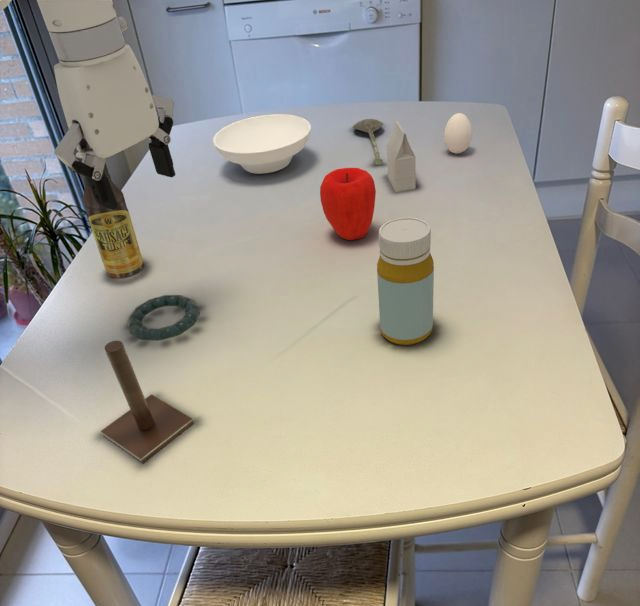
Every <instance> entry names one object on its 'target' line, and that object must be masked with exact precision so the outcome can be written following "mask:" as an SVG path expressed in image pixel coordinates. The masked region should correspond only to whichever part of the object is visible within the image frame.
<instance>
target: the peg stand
mask: <svg viewBox="0 0 640 606" xmlns="http://www.w3.org/2000/svg"><path fill="white" fill-rule="evenodd" d="M104 352H105V354H106V356H107V358H108V361H109V363H110V365H111V367H112V370H113V372H114V374H115V376H116V379H117V382H118V384H119V386H120V389H121V391H122V393H123V395H124V398H125V401H126V403H127V405H128V407H129V410H128V411H126V412H125V413H123V414H122V415H121V416H119V417H118V418H117V419H115V420H114V421H112V422H111V423H109V425H107V426H105V427H104V428H103V429H102V430H100V432H101V433H102V437H103V438H105V440H107V441H109V442H111V443H112V444H114V445H115V446H116V447H117V448H119V449H121V450H122V451H124V452H125V453H126V454H127V455H129V456H131V457H132V458H133V459H135V460H137V461H138V462H139V463H141V464H145V463H146V462H148V461H149V460H150V459H152V457H154V456H155V455H157V454H158V453H159V452H161V451H162V450H163V449H164V448H165V447H167V446H168V445H169V444H171V443H172V442H173V441H174V440H176V439H177V438H178V437H179V436H180V435H182V434H183V433H185V432H186V431H187V430H188V429H189V428H191V427H192V426H193V425H195V422H194V420H193V418H192V417H190V416H189V415H187V414H185V413H184V412H183V411H181V410H178V409H177V408H175V407H173V406H172V405H171V404H168V403H167V402H165V401H163V400H162V399H160V398H158V397H156V395H153V394H150V395H148V396H147V397H146V398H145V395H144V392H143V390H142V388H141V385H140V383H139V380H138V378H137V375H136V373H135V370H134V368H133V366H132V364H131V363H132V362H131V359H130V357H129V355H128V352H127V350H126V348H125V345H124V342H122V341H121V340H112V341H109V342H107V343H106V344H105V346H104ZM138 458H139V459H138ZM140 459H141V460H140Z"/></svg>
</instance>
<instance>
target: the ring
mask: <svg viewBox="0 0 640 606" xmlns="http://www.w3.org/2000/svg"><path fill="white" fill-rule="evenodd" d="M164 307H177V308H180V309H182V310H183V311H184V313H185V314H184V315H183V317H182V318H181V319H179V320H178V321H176V322H175V323H173V324H171V325H167V326H164V327H160V328H157V327H156V328H155V327H154V328H151V327H147V326H145V325H143V321H144V319H145V317H146V316H147V315H148V314H149V313H151V312H152V311H154V310H156V309H159V308H164ZM200 315H201V312H200V309H199V307H198V304H197V302H196V301H195V300H194V299H191V298H189V297H187V296H185V295H181V294H163V295H160V296H157V297H153V298H149V299H147V300H145V301H144V302H142V303H141V304H139V305H138V306H136V307H135V308H134V309H133V311H132V312H131V314H130V315H129V317H128V318H127V326H128V331H129V334H130V335H132V336H134V337H135V338H138V339H140V340H142V341H163V340H166V339H169V338H173V337H178V336H180V335H182V334H183V333H184V332H186V331H187V330H189V329H190V328H192V327H193V326H195V325H196V323H197V320H198V319H199V317H200Z"/></svg>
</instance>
